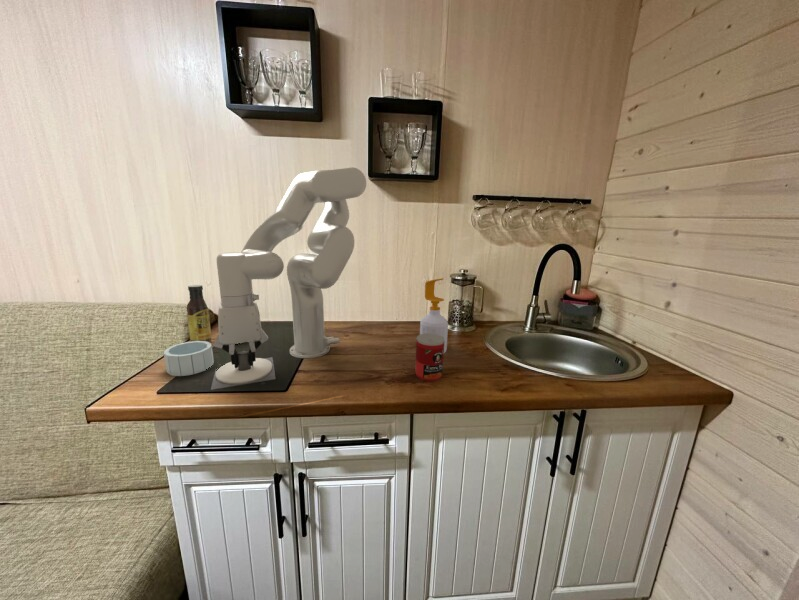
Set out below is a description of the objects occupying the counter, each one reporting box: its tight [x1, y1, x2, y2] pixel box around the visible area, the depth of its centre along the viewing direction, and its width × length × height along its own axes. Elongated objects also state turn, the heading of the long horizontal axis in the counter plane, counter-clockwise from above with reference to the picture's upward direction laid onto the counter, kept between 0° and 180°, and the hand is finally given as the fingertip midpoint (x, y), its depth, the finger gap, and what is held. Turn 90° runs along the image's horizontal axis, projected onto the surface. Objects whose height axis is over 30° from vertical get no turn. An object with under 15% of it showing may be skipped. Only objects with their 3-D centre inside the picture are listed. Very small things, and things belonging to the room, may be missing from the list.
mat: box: [210, 356, 276, 391], centre depth 88 cm, size 15×15×1 cm
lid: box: [216, 350, 272, 384], centre depth 87 cm, size 14×14×6 cm
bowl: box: [163, 341, 215, 377], centre depth 89 cm, size 11×11×6 cm
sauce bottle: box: [186, 284, 212, 343], centre depth 106 cm, size 6×6×20 cm
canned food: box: [414, 333, 445, 382], centre depth 88 cm, size 8×8×11 cm
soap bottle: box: [419, 278, 449, 354], centre depth 104 cm, size 9×9×25 cm
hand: (244, 364), depth 87 cm, fingers closed on lid, 3 cm apart
